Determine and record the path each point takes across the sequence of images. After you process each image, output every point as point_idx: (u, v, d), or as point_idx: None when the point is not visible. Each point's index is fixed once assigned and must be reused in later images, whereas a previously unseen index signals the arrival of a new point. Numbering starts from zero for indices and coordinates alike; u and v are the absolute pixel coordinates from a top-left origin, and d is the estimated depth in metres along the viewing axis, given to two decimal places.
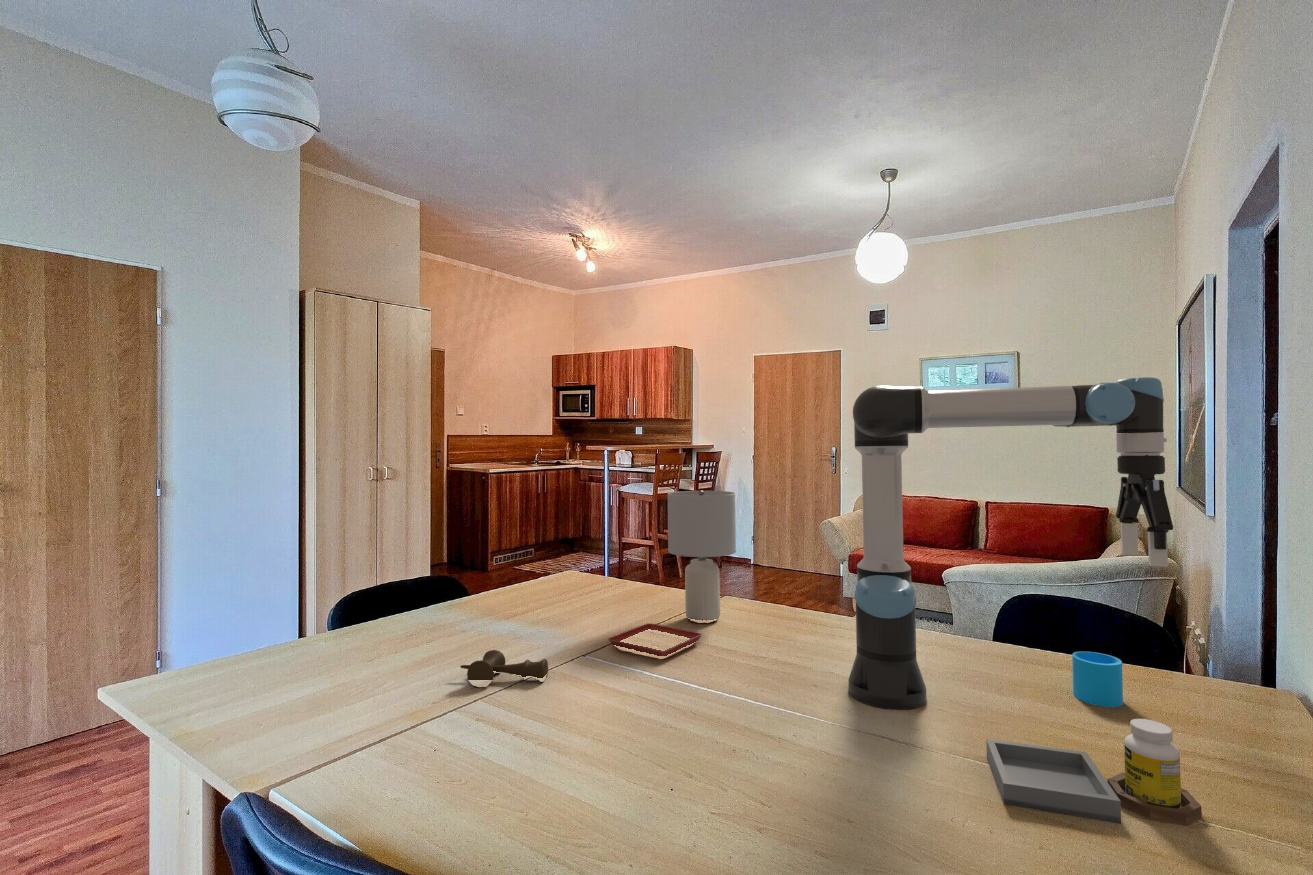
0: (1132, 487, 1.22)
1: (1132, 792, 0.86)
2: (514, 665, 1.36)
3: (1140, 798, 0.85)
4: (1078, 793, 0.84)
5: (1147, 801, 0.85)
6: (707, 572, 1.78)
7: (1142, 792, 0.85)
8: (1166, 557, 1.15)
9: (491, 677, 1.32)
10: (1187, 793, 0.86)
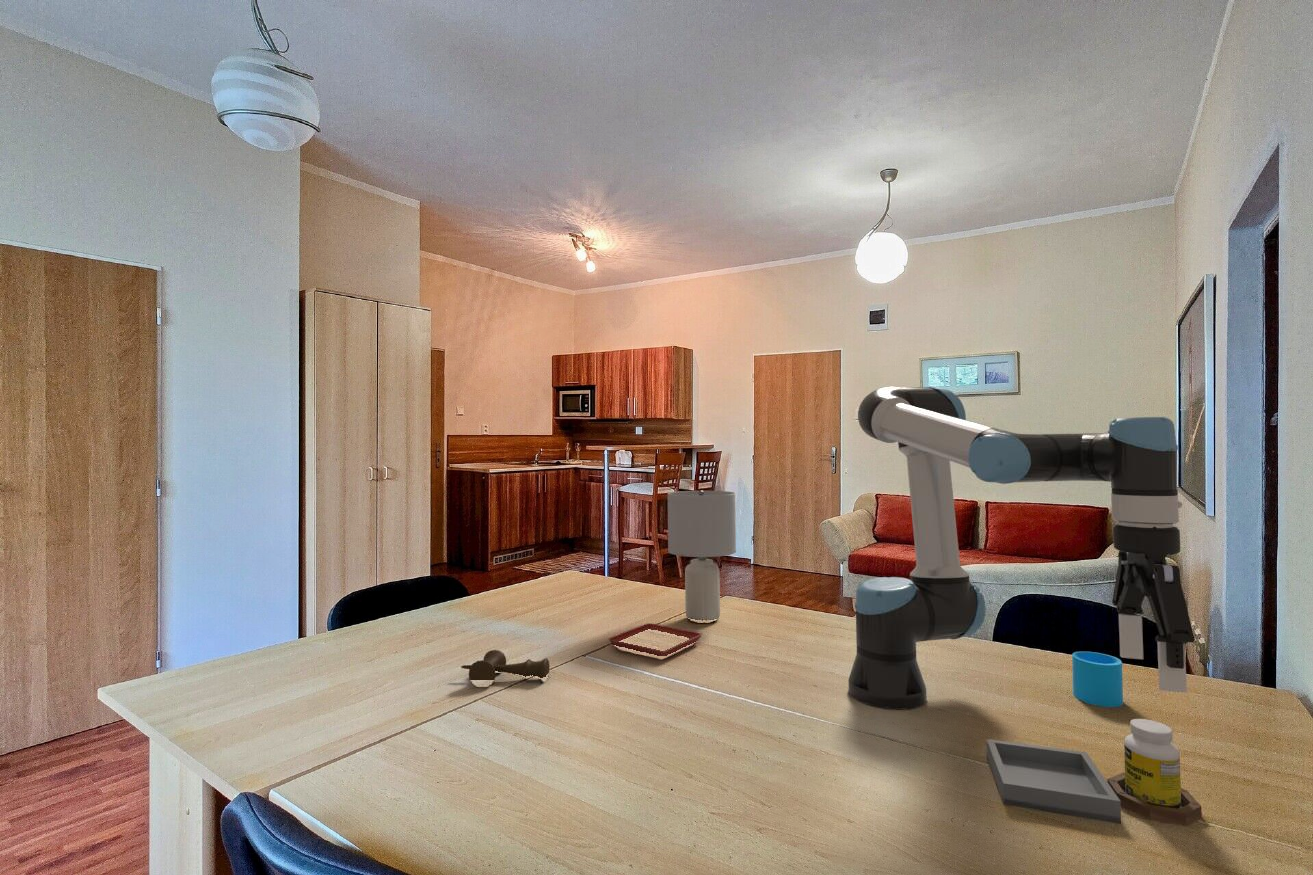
0: (1134, 571, 0.87)
1: (1132, 792, 0.86)
2: (515, 665, 1.36)
3: (1140, 798, 0.85)
4: (1078, 793, 0.84)
5: (1147, 801, 0.85)
6: (707, 572, 1.78)
7: (1142, 792, 0.85)
8: (1184, 679, 0.80)
9: (493, 677, 1.32)
10: (1187, 793, 0.86)
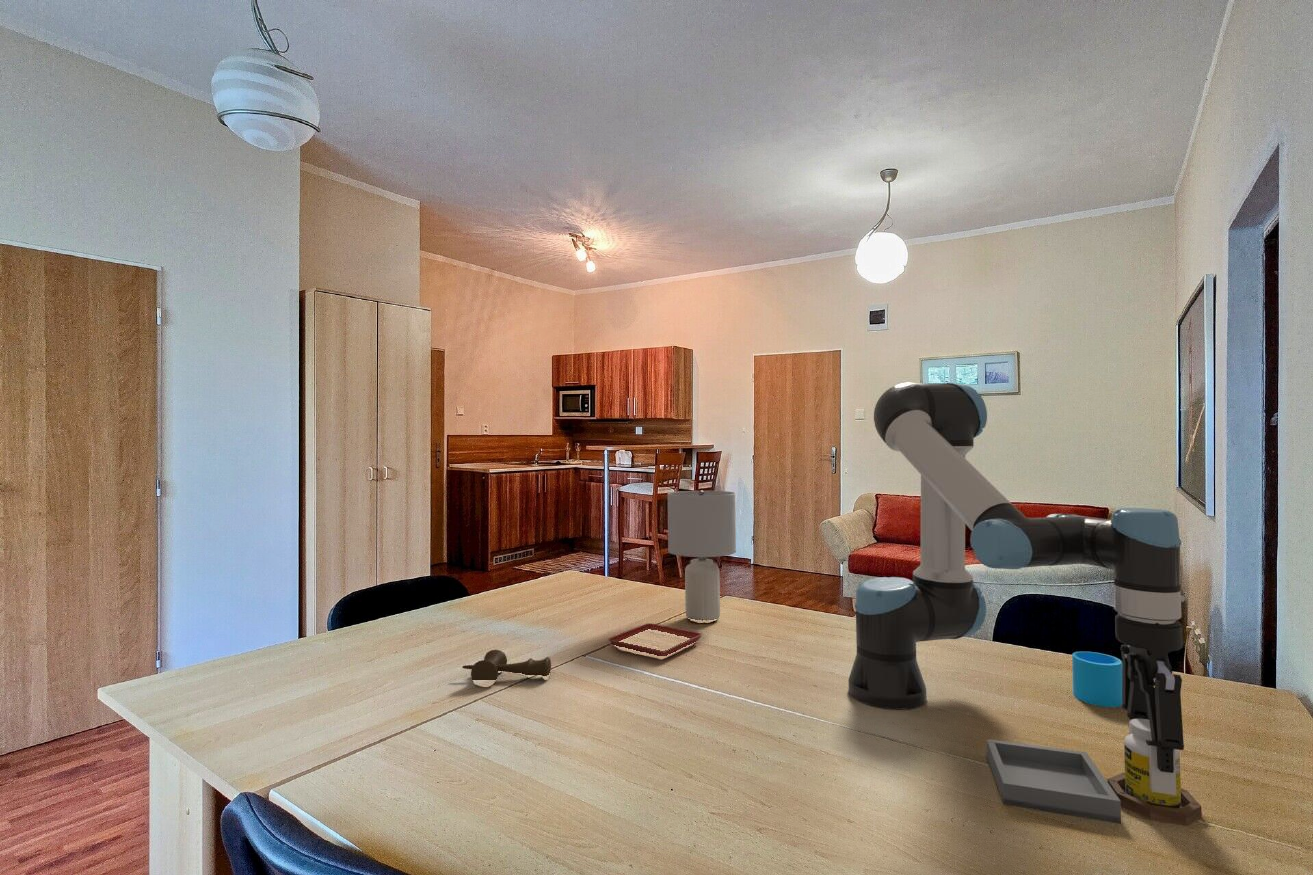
0: (1136, 664, 0.86)
1: (1132, 791, 0.86)
2: (517, 664, 1.36)
3: (1140, 798, 0.85)
4: (1078, 793, 0.84)
5: (1147, 801, 0.85)
6: (707, 572, 1.78)
7: (1142, 792, 0.85)
8: (1174, 782, 0.83)
9: (495, 676, 1.32)
10: (1187, 793, 0.86)
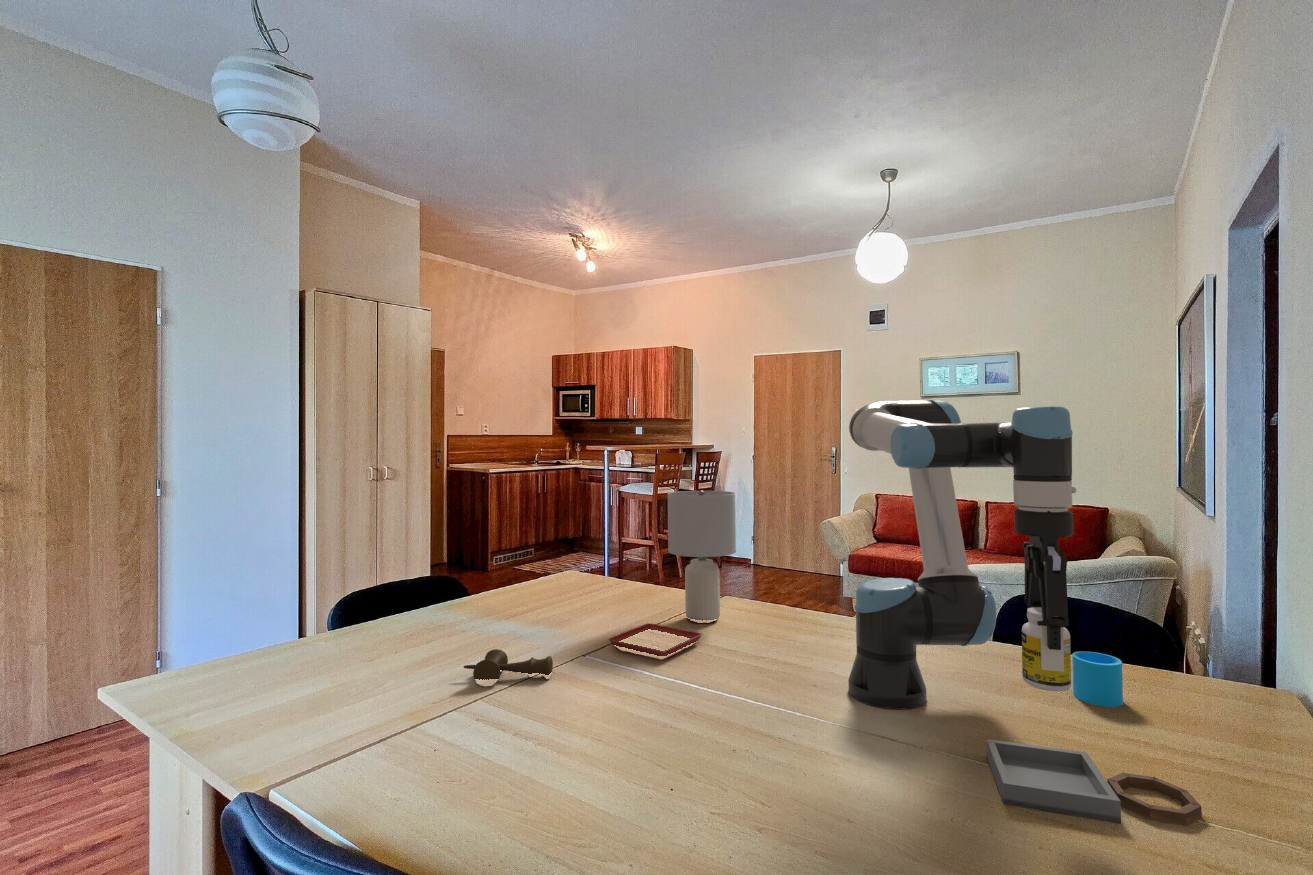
0: (1031, 553, 0.91)
1: (1027, 673, 0.91)
2: (519, 663, 1.37)
3: (1033, 678, 0.90)
4: (1078, 793, 0.84)
5: (1039, 680, 0.89)
6: (707, 572, 1.78)
7: (1034, 672, 0.90)
8: (1062, 659, 0.87)
9: (498, 676, 1.32)
10: (1187, 793, 0.86)
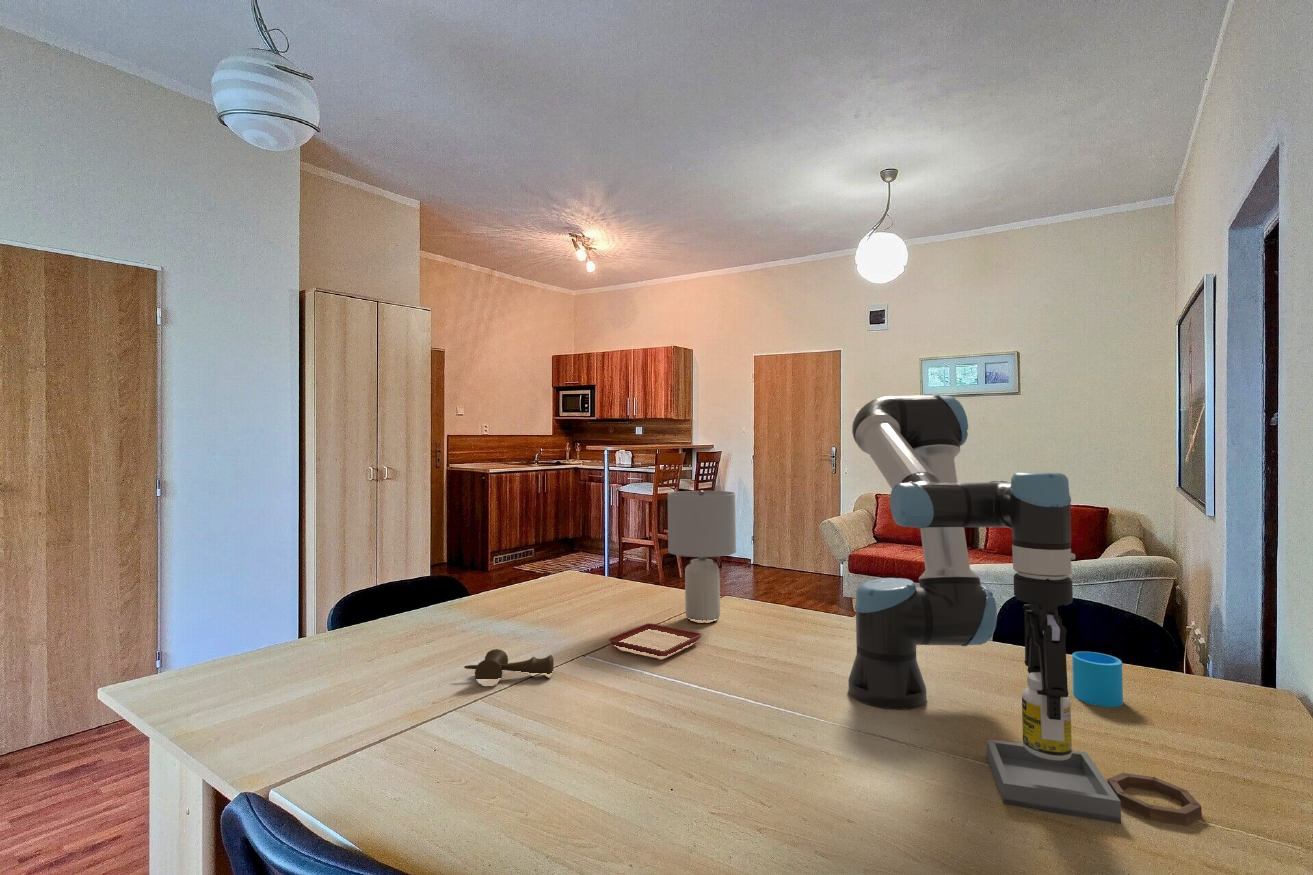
0: (1030, 619, 0.91)
1: (1027, 740, 0.91)
2: (520, 663, 1.37)
3: (1033, 746, 0.90)
4: (1078, 793, 0.84)
5: (1039, 748, 0.89)
6: (707, 572, 1.78)
7: (1035, 740, 0.89)
8: (1062, 729, 0.87)
9: (500, 675, 1.33)
10: (1187, 793, 0.86)
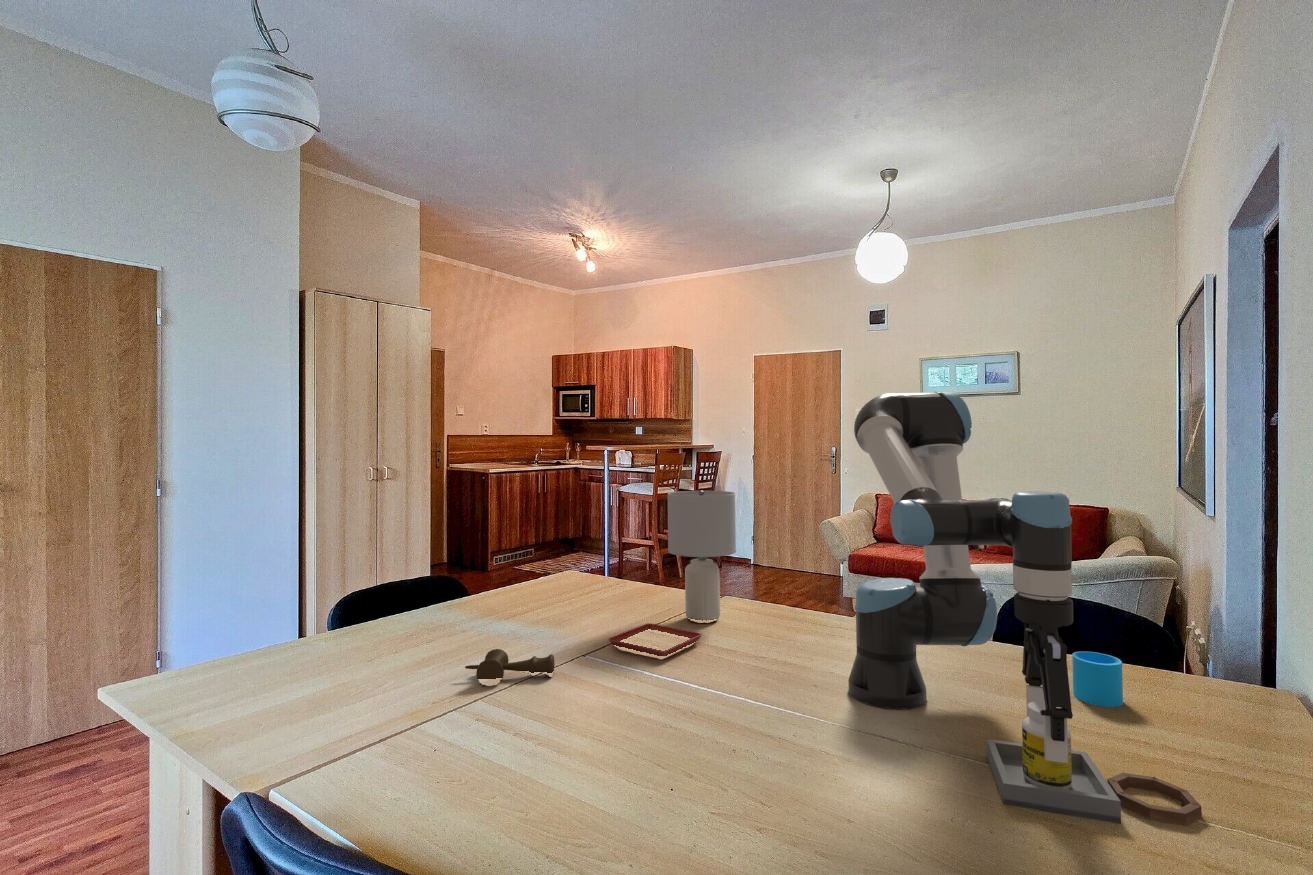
0: (1031, 639, 0.91)
1: (1027, 770, 0.91)
2: (521, 662, 1.37)
3: (1033, 776, 0.90)
4: (1078, 793, 0.84)
5: (1039, 779, 0.89)
6: (707, 572, 1.78)
7: (1035, 770, 0.90)
8: (1066, 750, 0.85)
9: (501, 675, 1.33)
10: (1187, 793, 0.86)
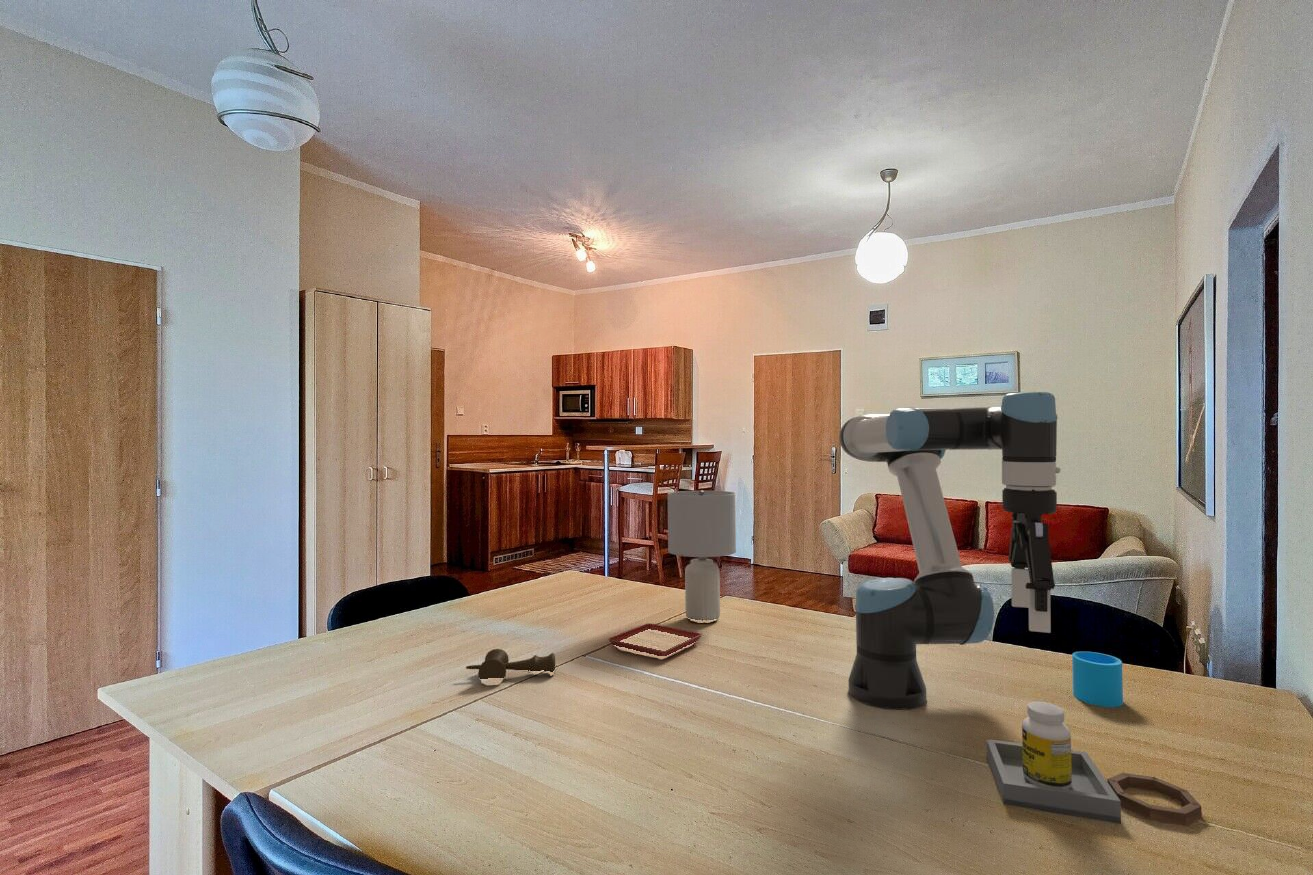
0: (1017, 529, 0.98)
1: (1027, 770, 0.91)
2: (523, 661, 1.38)
3: (1033, 776, 0.90)
4: (1078, 793, 0.84)
5: (1039, 779, 0.89)
6: (707, 572, 1.78)
7: (1035, 770, 0.90)
8: (1049, 621, 0.91)
9: (504, 674, 1.33)
10: (1187, 793, 0.86)
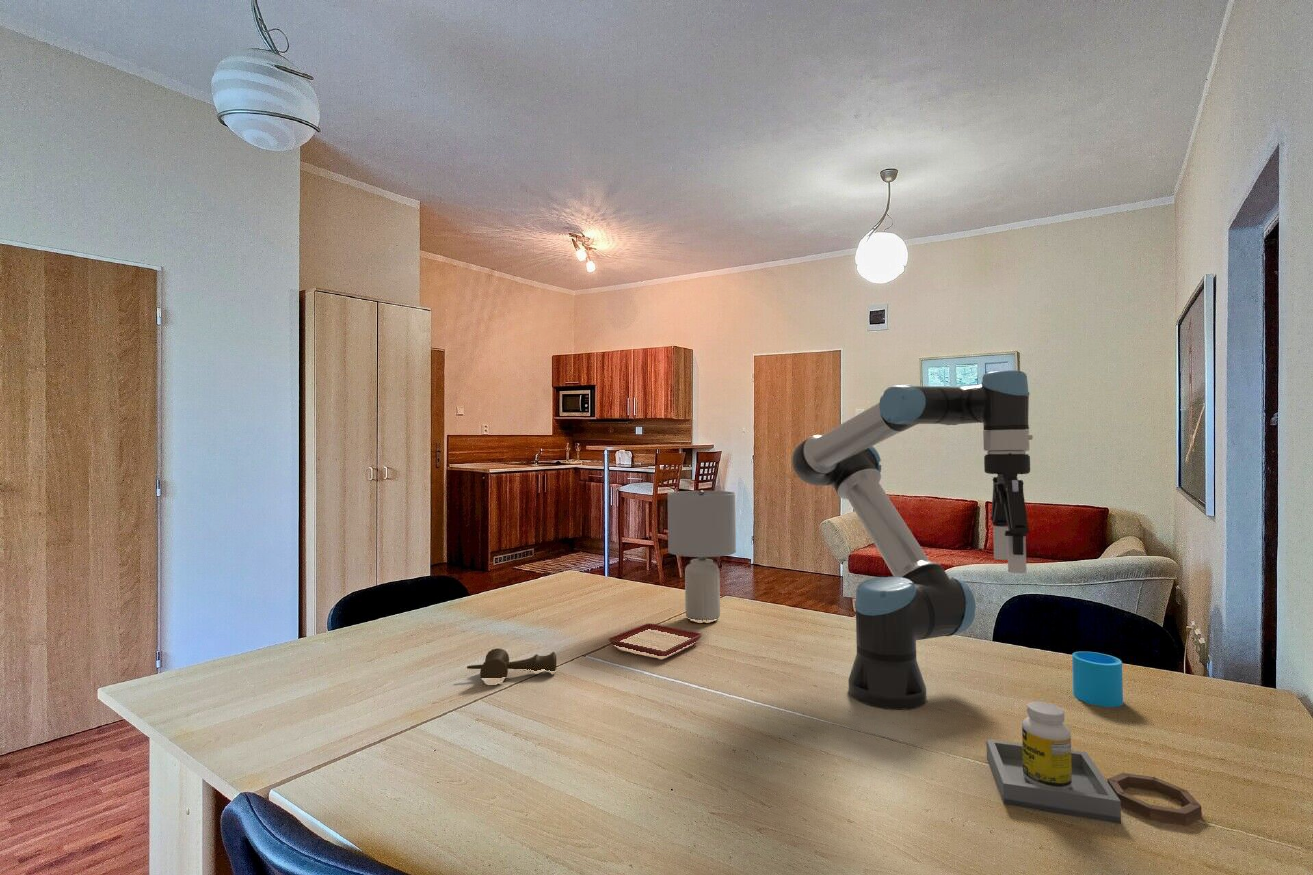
0: (997, 488, 1.14)
1: (1027, 770, 0.91)
2: (524, 661, 1.38)
3: (1033, 776, 0.90)
4: (1078, 793, 0.84)
5: (1039, 779, 0.89)
6: (707, 572, 1.78)
7: (1035, 770, 0.90)
8: (1025, 563, 1.07)
9: (506, 674, 1.34)
10: (1187, 793, 0.86)
